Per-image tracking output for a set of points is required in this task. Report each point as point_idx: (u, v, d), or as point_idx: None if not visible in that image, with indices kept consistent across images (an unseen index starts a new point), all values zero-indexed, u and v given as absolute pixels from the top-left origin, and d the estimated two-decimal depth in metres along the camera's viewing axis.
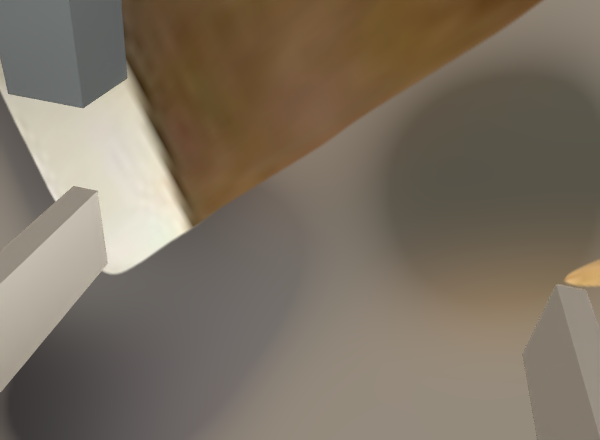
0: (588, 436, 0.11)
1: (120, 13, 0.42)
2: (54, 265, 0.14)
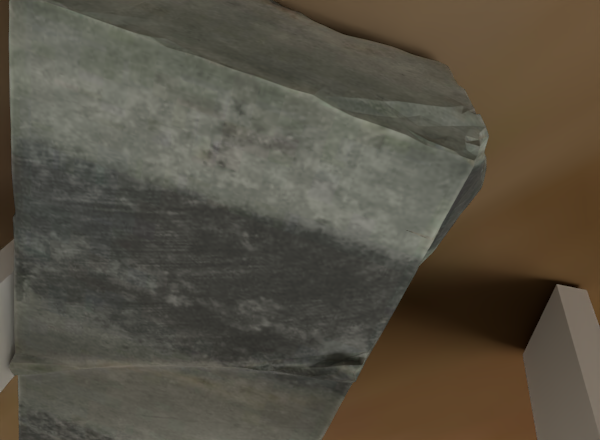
0: (589, 437, 0.11)
1: None
2: None
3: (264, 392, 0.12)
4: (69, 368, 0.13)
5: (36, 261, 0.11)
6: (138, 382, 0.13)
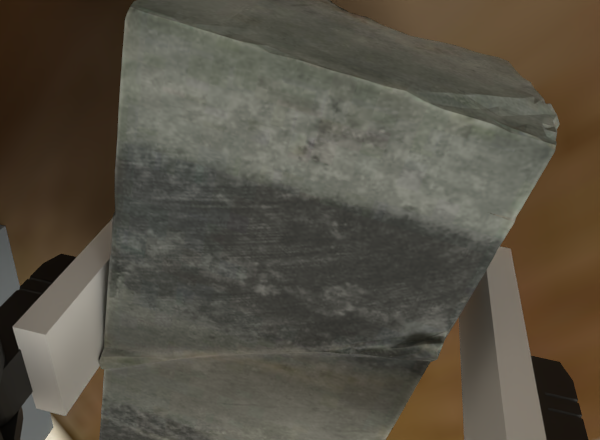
0: (492, 369, 0.12)
1: None
2: None
3: (343, 375, 0.13)
4: (156, 360, 0.13)
5: (131, 258, 0.12)
6: (221, 372, 0.13)
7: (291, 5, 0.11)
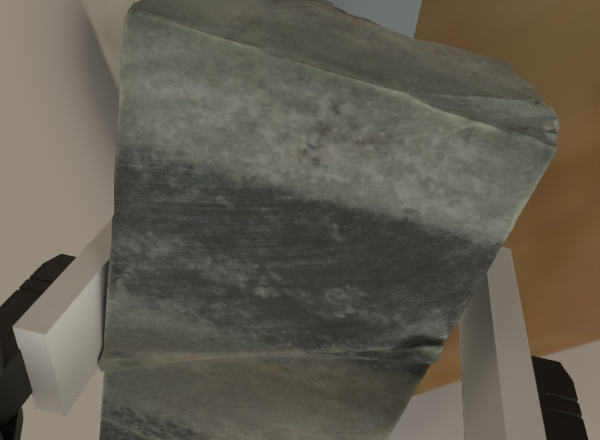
0: (491, 369, 0.12)
1: None
2: None
3: (343, 377, 0.13)
4: (156, 362, 0.13)
5: (131, 260, 0.12)
6: (221, 373, 0.13)
7: (291, 7, 0.11)
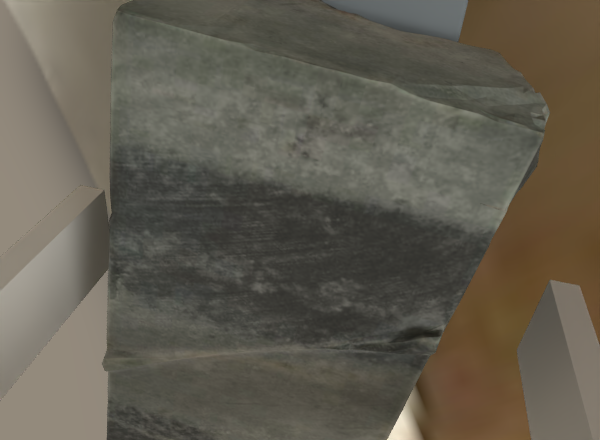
0: (579, 429, 0.11)
1: None
2: (62, 263, 0.14)
3: (343, 372, 0.13)
4: (158, 361, 0.13)
5: (129, 259, 0.12)
6: (223, 371, 0.14)
7: (280, 4, 0.11)
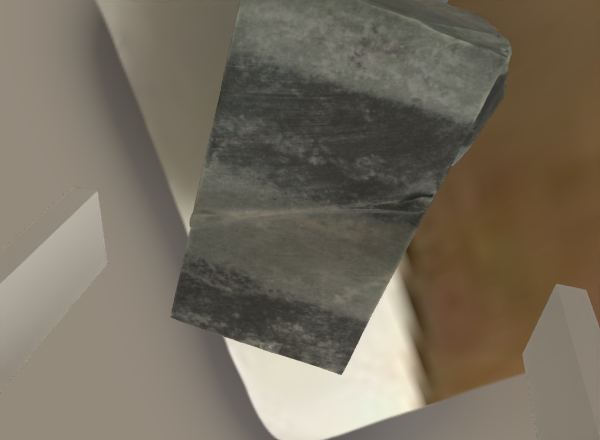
0: (588, 436, 0.11)
1: None
2: (54, 265, 0.14)
3: (364, 228, 0.19)
4: (232, 217, 0.19)
5: (225, 137, 0.18)
6: (277, 228, 0.19)
7: None
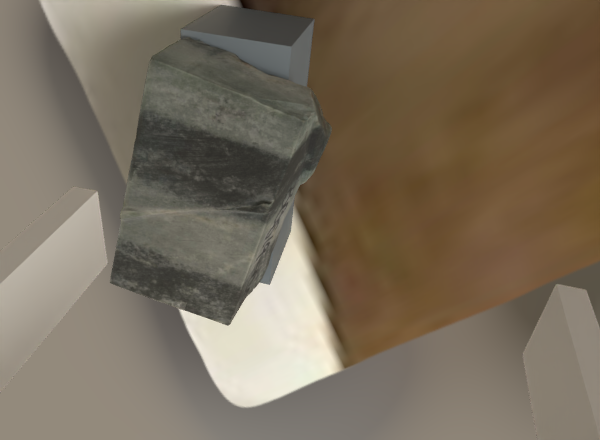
0: (588, 436, 0.11)
1: None
2: (54, 265, 0.14)
3: (232, 223, 0.28)
4: (147, 213, 0.29)
5: (141, 161, 0.27)
6: (177, 221, 0.29)
7: (217, 58, 0.27)
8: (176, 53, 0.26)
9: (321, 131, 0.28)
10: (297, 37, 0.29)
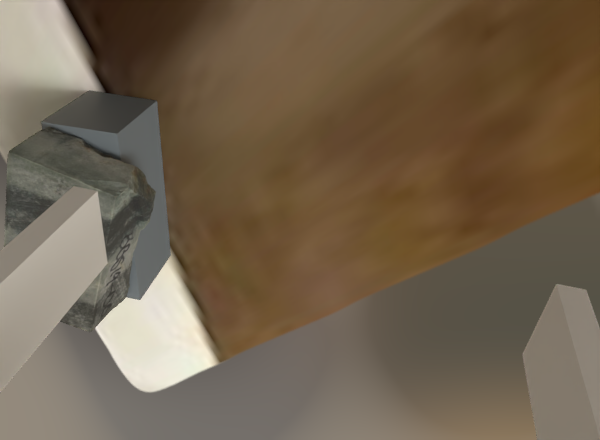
0: (588, 436, 0.11)
1: (166, 211, 0.50)
2: (54, 265, 0.14)
3: None
4: None
5: (11, 217, 0.38)
6: None
7: (64, 145, 0.38)
8: (31, 145, 0.37)
9: (141, 197, 0.39)
10: (129, 123, 0.40)
